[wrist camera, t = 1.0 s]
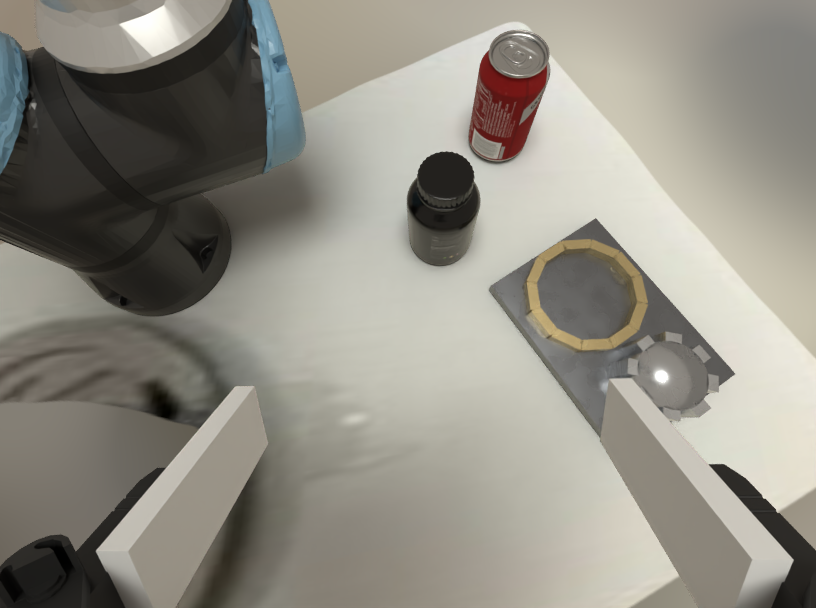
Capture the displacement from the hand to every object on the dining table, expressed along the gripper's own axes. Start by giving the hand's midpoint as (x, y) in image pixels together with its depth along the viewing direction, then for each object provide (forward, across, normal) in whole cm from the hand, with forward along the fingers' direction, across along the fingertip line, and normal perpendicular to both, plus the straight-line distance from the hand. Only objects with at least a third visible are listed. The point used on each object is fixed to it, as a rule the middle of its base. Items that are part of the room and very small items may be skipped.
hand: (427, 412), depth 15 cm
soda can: (+40, +8, +10) cm, 42 cm away
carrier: (+25, +17, -9) cm, 32 cm away
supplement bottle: (+32, +1, 0) cm, 32 cm away
